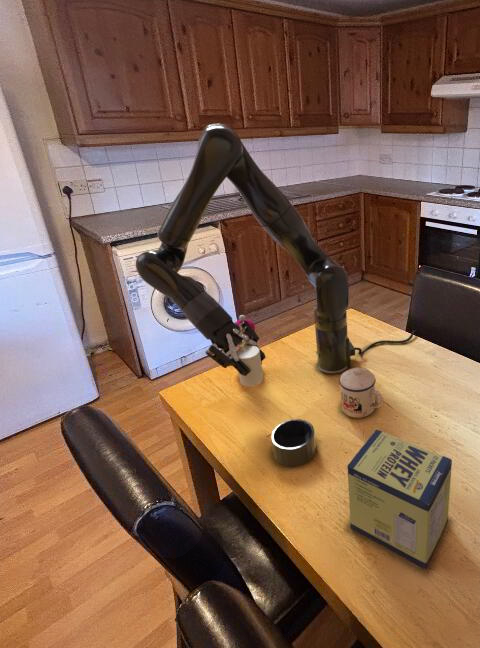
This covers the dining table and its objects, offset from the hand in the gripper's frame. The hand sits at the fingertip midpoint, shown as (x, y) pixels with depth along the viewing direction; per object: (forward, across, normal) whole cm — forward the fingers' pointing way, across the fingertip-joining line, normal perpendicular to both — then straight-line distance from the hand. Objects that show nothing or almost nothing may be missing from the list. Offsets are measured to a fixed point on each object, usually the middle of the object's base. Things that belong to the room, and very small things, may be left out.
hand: (255, 366), depth 100 cm
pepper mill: (+1, +13, +20) cm, 23 cm away
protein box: (+40, -17, -19) cm, 47 cm away
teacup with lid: (+27, +10, -6) cm, 30 cm away
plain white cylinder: (+2, 0, +4) cm, 5 cm away
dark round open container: (+20, -8, +1) cm, 22 cm away
